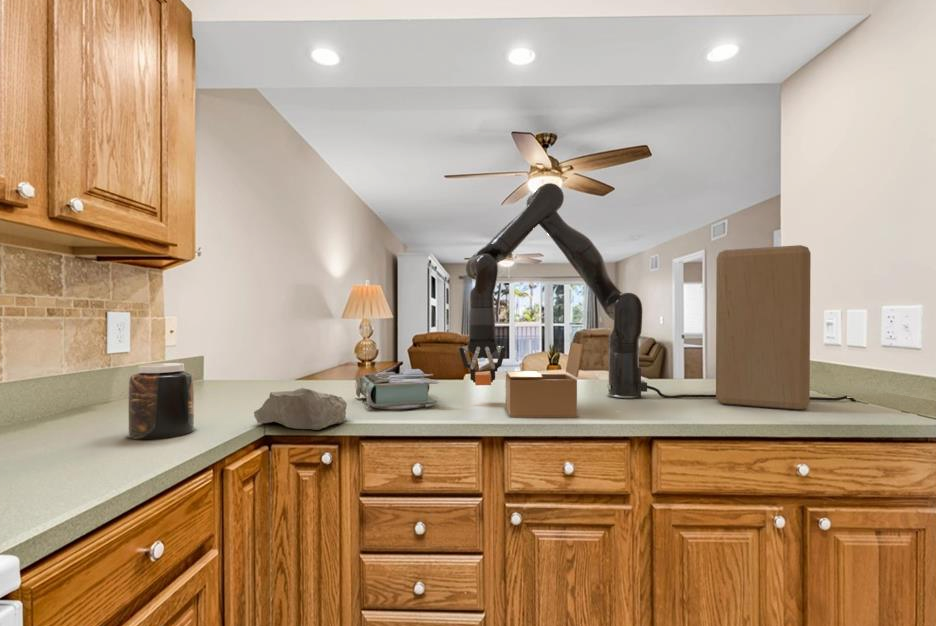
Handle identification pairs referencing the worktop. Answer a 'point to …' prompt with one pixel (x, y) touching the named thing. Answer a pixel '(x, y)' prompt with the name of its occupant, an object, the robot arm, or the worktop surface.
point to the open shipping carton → (540, 394)
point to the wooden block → (763, 327)
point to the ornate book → (396, 389)
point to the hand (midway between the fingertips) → (482, 381)
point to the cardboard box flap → (574, 359)
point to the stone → (302, 409)
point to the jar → (161, 401)
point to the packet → (482, 378)
